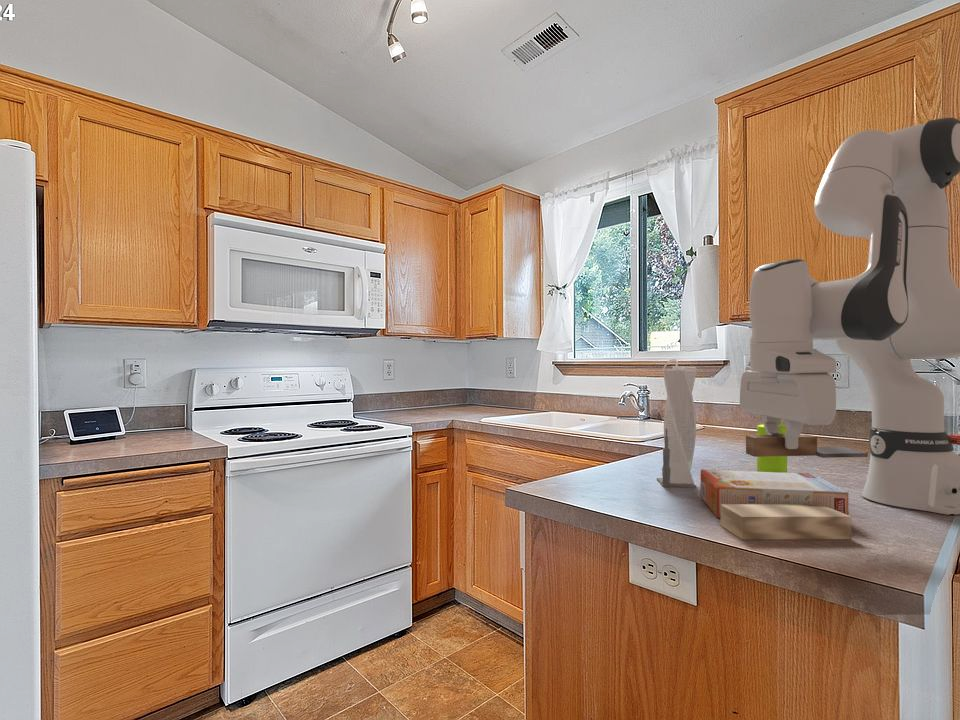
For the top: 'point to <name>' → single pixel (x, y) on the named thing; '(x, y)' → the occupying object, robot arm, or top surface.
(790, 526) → the beech board
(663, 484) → the skyscraper
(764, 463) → the soap dispenser
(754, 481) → the cracker box
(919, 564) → the top surface
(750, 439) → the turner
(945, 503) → the robot arm
